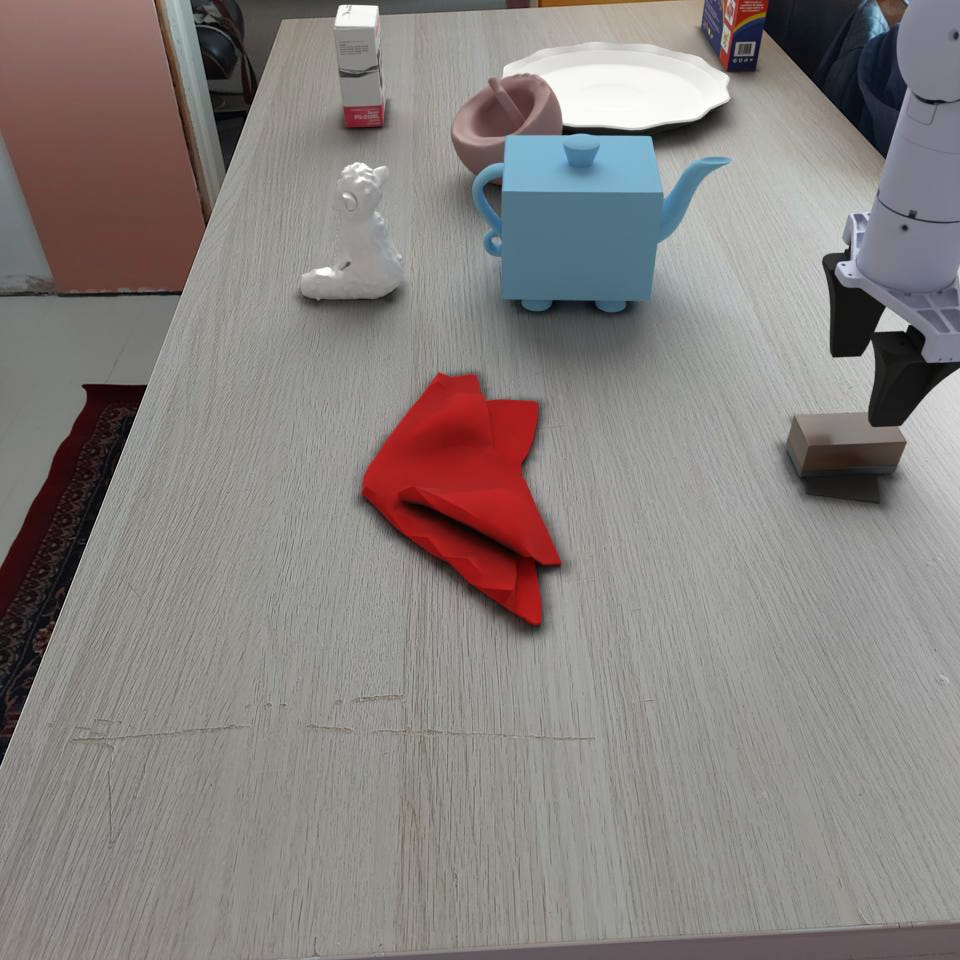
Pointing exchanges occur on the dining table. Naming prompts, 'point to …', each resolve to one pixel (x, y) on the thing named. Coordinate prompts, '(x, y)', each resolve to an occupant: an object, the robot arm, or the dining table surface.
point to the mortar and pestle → (503, 119)
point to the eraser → (843, 445)
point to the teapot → (582, 217)
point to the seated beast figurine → (358, 242)
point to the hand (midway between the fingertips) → (864, 387)
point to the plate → (626, 87)
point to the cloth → (467, 489)
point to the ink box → (360, 65)
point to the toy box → (735, 31)
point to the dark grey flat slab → (845, 486)
